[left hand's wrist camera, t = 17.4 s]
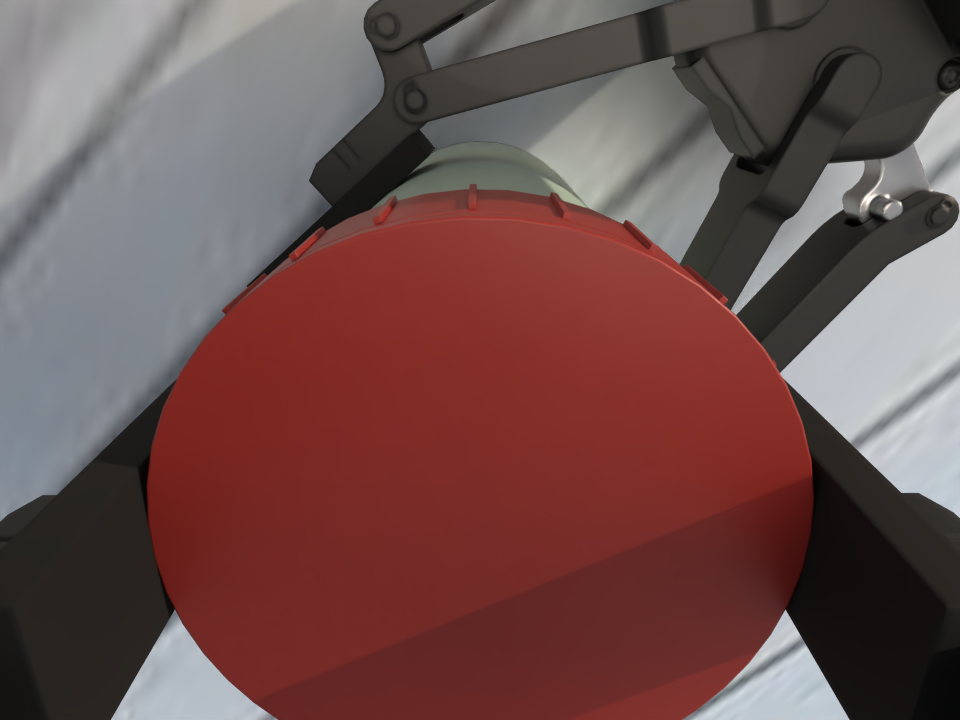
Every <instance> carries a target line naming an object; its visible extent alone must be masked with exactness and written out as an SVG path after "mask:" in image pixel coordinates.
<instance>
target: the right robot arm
mask: <svg viewBox="0 0 960 720" xmlns="http://www.w3.org/2000/svg"><path fill="white" fill-rule="evenodd" d="M494 1H495V0H379V1H377V2H375V3H374V4H373V5H372V6H371V7H370V8H369V9H368V10H367V13H366V15H365V18H364V31H365V34H366V37H367V39H368V40H369V41H370V43H371V44H372V47H373V49H374V52H375V54H376V57H377V60H378V62H379V65H380V67H381V70H382V72H383V76H384V82H385V88H384V93H383V96H382V98H381V101H380V102H379V103H378V105H377V106H376V107H375V108H374V109H373V110H372V111H371V112H370V113H369V114H368V115H367V116H366V117H365V118H364V119H363V120H361V121H360V122H359V123H358V124H357V125H356V126H355V127H354V128H353V129H352V130H351V131H350V132H349V133H348V134H347V135H346V136H345V137H344V138H343V139H342V140H341V141H339V142H338V143H337V144H336V145H335V146H334V147H333V148H332V149H331V150H330V151H329V152H328V153H327V154H326V155H325V156H324V157H323V158H322V159H321V160H320V161H319V162H318V163H316V166H315V168H314V170H313V173H312V175H311V177H310V180H309V182H310V183H311V184H312V185H313V186H314V187H315V188H316V189H317V190H318V191H319V192H320V193H321V195H322V196H323V197H324V198H325V199H326V200H327V201H328V202H329V203H330V204H331V205H332V206H333V207H332V208H330V209H329V210H328V211H327V212H326V213H325V214H324V215H323V216H322V217H321V218H320V219H319V220H317V221H316V222H315V223H314V224H313V225H312V226H311V227H310V228H309V229H308V230H307V231H306V232H305V233H303V234H302V235H301V236H300V237H299V238H298V239H297V240H296V241H295V242H294V243H293V244H292V245H290V246H289V247H288V248H287V249H286V250H285V251H284V252H283V253H282V254H281V255H280V256H279V257H278V258H276V259H275V260H274V261H273V262H272V263H271V264H270V265H269V266H268V267H267V268H266V269H265V270H263V271H262V272H261V273H260V274H259V275H258V276H257V277H256V278H255V279H254V280H253V281H252V282H251V283H249V284H248V285H247V287H249V286H250V285H251V284H252V283H253V282H254V281H256V280H257V279H258V278H259V277H260V276H261V275H262V274H264V273H265V274H266V275H267V276H268V275H269V274H270V273H271V272H272V271H274V270H275V269H276V268H277V267H278V266H279V265H280V264H281V263H282V262H284V261H285V260H286V259H287V258H289V255H290V254H291V253H292V252H293V251H294V250H295V249H296V248H297V247H299V246H300V245H301V244H302V243H303V242H304V241H305V240H307V239H308V238H309V237H310V236H311V235H312V234H313V233H314V232H316V231H317V230H318V229H319V228H321V227H324V228H325V230H326V231H327V230H329V229H331V228H332V227H334V226H336V225H338V224H339V223H341V222H343V221H345V220H346V219H348V218H351V217H353V216H356V215H358V214H361V213H363V212H366V211H368V210H371V209H372V208H373V207H374V206H375V205H376V204H377V203H378V202H379V201H380V200H382V199H383V198H384V197H385V196H386V195H387V194H388V193H389V192H390V191H391V190H393V189H394V188H395V187H396V186H397V185H398V184H399V183H400V182H401V181H402V180H404V179H405V178H406V177H407V176H408V175H409V174H410V173H411V172H412V171H414V170H415V169H416V168H417V167H418V166H419V165H420V164H421V163H422V162H423V161H425V160H426V159H427V158H428V157H429V156H430V154H431V153H432V152H433V150H434V149H435V148H434V146H433V145H432V144H431V143H430V142H429V140H428V139H427V138H426V137H425V136H424V134H423V133H422V132H421V131H420V130H419V129H421V128H422V127H423V126H424V125H425V124H426V123H427V122H429V121H433V120H436V119H440V118H444V117H447V116H451V115H455V114H458V113H462V112H466V111H469V110H473V109H477V108H480V107H484V106H488V105H491V104H495V103H499V102H502V101H506V100H510V99H513V98H517V97H521V96H524V95H528V94H532V93H535V92H539V91H543V90H546V89H550V88H554V87H557V86H561V85H565V84H568V83H572V82H576V81H579V80H583V79H587V78H590V77H594V76H598V75H601V74H605V73H609V72H612V71H616V70H620V69H623V68H627V67H631V66H634V65H638V64H642V63H645V62H649V61H653V60H657V59H662V58H665V57H669V56H673V55H674V59H675V63H676V65H675V66H674V67H673V68H672V69H673V71H674V72H675V74H676V75H677V77H678V78H679V80H680V81H681V82H682V84H683V85H684V87H685V88H686V90H688V91H689V92H690V93H691V94H693V95H694V96H695V97H696V98H698V99H699V100H700V101H701V102H703V103H704V104H705V105H706V106H707V107H708V110H709V113H710V116H711V119H712V122H713V125H714V128H715V131H716V133H717V135H718V136H719V138H720V139H721V140H722V142H723V143H724V145H725V146H726V148H727V149H728V151H729V152H731V153H734V155H733V157H732V159H731V161H730V162H729V164H728V166H727V168H726V170H725V171H724V173H723V175H722V178H721V180H720V185H719V193H718V195H717V197H716V199H715V201H714V203H713V205H712V207H711V208H710V210H709V212H708V214H707V216H706V217H705V219H704V221H703V223H702V225H701V226H700V228H699V230H698V232H697V234H696V236H695V237H694V239H693V241H692V243H691V245H690V246H689V248H688V250H687V252H686V254H685V255H684V257H683V259H682V261H681V263H680V266H682V267H683V268H684V267H685V266H686V265H687V264H688V265H689V266H690V267H691V268H692V269H693V270H695V271H696V272H697V273H698V274H699V275H700V276H702V277H703V278H704V279H705V280H706V281H707V282H709V283H710V284H711V285H712V286H713V287H714V288H715V289H717V290H718V291H719V292H720V293H721V294H722V295H724V296H725V297H726V298H727V299H728V302H726V303H725V304H724V305H725V306H726V307H727V308H728V309H729V310H731V308H732V307H733V305H734V303H735V302H736V300H737V298H738V297H739V295H740V293H741V292H742V290H743V288H744V287H745V285H746V283H747V282H748V280H749V278H750V277H751V275H752V273H753V271H754V270H755V268H756V266H757V265H758V263H759V261H760V260H761V258H762V256H763V255H764V253H765V251H766V250H767V248H768V246H769V245H770V243H771V241H772V240H773V238H774V236H775V235H776V233H777V231H778V229H779V228H780V226H781V225H782V223H783V222H784V221H785V220H787V219H789V218H791V217H793V216H794V215H795V214H796V213H797V212H798V211H799V209H800V208H801V207H802V205H803V203H804V202H805V200H806V198H807V197H808V195H809V193H810V192H811V190H812V188H813V187H814V185H815V183H816V182H817V180H818V178H819V177H820V175H821V173H822V172H823V170H824V168H825V167H826V165H827V164H828V163H840V162H853V161H864V162H865V169H864V173H863V176H862V177H861V179H860V180H859V182H858V183H857V184H856V185H855V186H854V187H853V188H851V189H850V190H848V191H846V192H845V194H844V195H843V198H842V202H843V204H844V206H843V208H844V209H843V210H842V211H840V212H839V213H837V214H836V215H834V216H833V217H832V218H830V219H829V220H828V221H827V222H825V223H824V224H823V225H822V226H821V227H820V228H818V229H817V230H816V231H815V232H814V233H813V234H812V235H811V236H810V237H809V238H808V239H807V240H806V242H805V243H804V244H803V245H802V246H801V247H800V248H799V249H798V250H797V251H796V252H795V253H794V254H793V255H792V256H791V257H790V259H789V260H788V261H787V262H786V263H785V264H784V265H783V266H782V267H781V268H780V269H779V270H778V271H777V272H776V273H775V274H774V276H773V277H772V278H771V279H770V280H769V281H768V282H767V283H766V284H765V285H764V286H763V287H762V288H761V289H760V290H759V291H758V293H757V294H756V295H755V296H754V297H753V298H752V299H751V300H750V301H749V302H748V303H747V304H746V305H745V306H744V307H743V308H742V310H741V311H740V312H739V313H738V314H737V315H736V316H737V317H738V318H739V319H740V321H741V322H742V323H743V324H744V325H745V326H746V328H747V329H748V330H749V331H750V332H751V333H752V335H753V336H754V337H755V338H756V339H757V340H758V342H759V343H760V344H761V345H762V346H763V347H764V349H765V350H766V352H767V353H768V355H769V356H770V357H771V358H772V359H773V360H774V361H775V363H776V368H777V370H778V371H779V373H780V372H781V371H782V370H783V369H784V368H785V367H786V366H787V365H788V364H789V363H790V362H791V361H792V360H793V359H794V358H795V357H796V356H797V355H798V354H799V353H800V352H801V351H802V350H803V349H804V348H805V347H806V346H807V345H808V344H809V343H810V342H811V341H812V340H813V339H814V338H815V337H816V336H817V335H818V334H819V333H820V332H821V331H822V330H823V329H824V328H825V327H826V326H827V325H828V324H829V323H830V322H831V321H832V320H833V319H834V318H835V317H836V316H837V315H838V314H839V313H840V312H841V311H842V310H843V309H844V308H845V307H846V306H847V305H848V304H849V303H850V302H851V301H852V300H853V299H854V298H855V297H856V296H857V295H858V294H859V293H860V292H861V291H862V290H863V289H864V288H865V287H866V286H867V285H868V284H869V283H870V282H871V281H872V280H873V279H874V278H875V277H876V276H877V275H878V274H879V273H880V272H881V271H882V270H883V269H884V268H885V267H886V266H887V265H888V264H890V263H892V262H893V261H895V260H897V259H899V258H901V257H902V256H904V255H906V254H908V253H910V252H911V251H913V250H915V249H917V248H919V247H920V246H922V245H924V244H926V243H928V242H929V241H931V240H933V239H935V238H937V237H938V236H940V235H942V234H944V233H945V232H947V231H948V230H949V229H950V228H952V226H953V225H954V224H955V222H956V221H957V218H958V214H959V206H958V203H957V201H956V200H955V199H954V198H953V197H951V196H949V195H947V194H943V193H939V192H935V191H933V190H932V189H931V187H930V185H929V182H928V179H927V177H926V174H925V172H924V169H923V167H922V164H921V162H920V159H919V157H918V154H917V151H916V149H915V146H914V144H913V143H914V142H915V141H916V140H917V139H918V137H919V136H920V135H921V133H922V132H923V130H924V128H925V127H926V125H927V123H928V121H929V119H930V118H931V116H932V115H933V113H934V112H935V111H936V109H937V108H938V107H939V106H940V105H941V103H942V102H943V101H944V100H945V99H946V98H947V97H948V96H950V95H951V94H952V93H954V92H955V91H956V90H958V89H960V0H679V1H676V2H672V3H669V4H665V5H662V6H658V7H655V8H652V9H648V10H645V11H642V12H639V13H636V14H632V15H628V16H625V17H621V18H618V19H614V20H611V21H607V22H603V23H600V24H596V25H593V26H589V27H586V28H582V29H578V30H575V31H571V32H568V33H564V34H561V35H557V36H553V37H550V38H546V39H543V40H539V41H536V42H532V43H528V44H525V45H521V46H518V47H514V48H511V49H507V50H503V51H500V52H496V53H493V54H489V55H486V56H482V57H478V58H475V59H471V60H468V61H464V62H461V63H457V64H453V65H450V66H446V67H443V68H439V69H436V70H432V68H431V66H430V63H429V60H428V57H427V55H426V52H425V49H424V46H423V43H425V42H427V41H428V40H430V39H432V38H433V37H435V36H437V35H438V34H440V33H442V32H443V31H445V30H447V29H448V28H450V27H452V26H453V25H455V24H457V23H458V22H460V21H462V20H463V19H465V18H467V17H468V16H470V15H472V14H473V13H475V12H477V11H479V10H480V9H482V8H484V7H485V6H487V5H489V4H490V3H492V2H494Z"/></svg>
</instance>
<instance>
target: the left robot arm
mask: <svg viewBox="0 0 960 720" xmlns="http://www.w3.org/2000/svg"><path fill="white" fill-rule="evenodd" d="M176 380H177V379H176ZM176 380H175V381H174V382H173V383H172V384H171V385H170V386H169V387H168V388H167V389H166V390H165V391H164V392H163V393H162V394H161V395H160V396H159V397H158V398H157V399H156V400H155V401H154V402H152V403H151V404H150V405H149V406H148V407H147V408H146V409H145V410H144V411H143V412H142V413H141V414H140V415H139V416H138V417H137V418H136V419H135V420H134V421H133V422H132V423H131V424H130V425H129V426H128V427H127V428H126V429H125V430H124V431H123V432H122V433H121V434H119V435H118V436H117V437H116V438H115V439H114V440H113V441H112V442H111V443H110V444H109V445H108V446H107V447H106V448H105V449H104V450H103V451H102V452H101V453H100V454H99V455H98V456H97V457H96V458H95V459H94V460H93V461H92V462H91V463H90V464H89V465H88V466H86V467H85V468H84V469H83V470H82V471H81V472H80V473H79V474H78V475H77V476H76V477H75V478H74V479H73V480H72V481H71V482H70V483H69V484H68V485H67V486H66V487H65V488H64V489H63V490H62V491H61V492H60V493H59V494H58V495H42V496H40V497H39V498H37V499H35V500H33V501H32V502H30V503H28V504H26V505H24V506H23V507H21V508H19V509H17V510H16V511H14V512H12V513H10V514H8V515H7V516H6V517H5V518H4V519H3V520H2V521H1V522H0V720H111V718H112V717H113V715H114V713H115V711H116V710H117V708H118V706H119V705H120V703H121V701H122V699H123V698H124V696H125V694H126V693H127V691H128V689H129V687H130V686H131V684H132V682H133V681H134V679H135V677H136V675H137V674H138V672H139V670H140V669H141V667H142V665H143V663H144V662H145V660H146V658H147V656H148V655H149V653H150V651H151V650H152V648H153V646H154V644H155V643H156V641H157V639H158V638H159V636H160V634H161V632H162V631H163V629H164V627H165V626H166V624H167V622H168V620H169V619H170V617H171V615H172V614H173V612H174V610H175V608H174V606H173V604H172V602H171V600H170V598H169V596H168V595H167V593H166V590H165V587H164V584H163V581H162V578H161V576H160V573H159V570H158V567H157V563H156V559H155V554H154V550H153V545H152V540H151V535H150V530H149V526H148V515H147V478H148V470H149V462H150V454H151V447H152V443H153V440H154V436H155V433H156V430H157V426H158V423H159V420H160V416H161V413H162V409H163V407H164V405H165V403H166V401H167V399H168V397H169V395H170V393H171V391H172V388H173V386H174V384H175V382H176ZM784 381H785V380H784ZM785 383H786V384H787V386H788V389H789V391H790V394H791V396H792V398H793V401H794V403H795V406H796V408H797V411H798V413H799V415H800V418H801V420H802V423H803V427H804V431H805V436H806V440H807V444H808V448H809V453H810V457H811V464H812V477H813V491H814V505H813V516H812V528H811V534H810V539H809V543H808V548H807V552H806V557H805V561H804V565H803V570H802V572H801V575H800V577H799V580H798V582H797V585H796V587H795V590H794V592H793V595H792V597H791V599H790V602H789V604H788V606H787V608H786V611H787V613H788V614H789V616H790V618H791V620H792V621H793V623H794V625H795V626H796V628H797V630H798V632H799V633H800V635H801V637H802V639H803V640H804V642H805V644H806V645H807V647H808V649H809V651H810V652H811V654H812V656H813V657H814V659H815V661H816V663H817V664H818V666H819V668H820V669H821V671H822V673H823V675H824V676H825V678H826V680H827V682H828V683H829V685H830V687H831V688H832V690H833V692H834V694H835V695H836V697H837V699H838V700H839V702H840V704H841V706H842V707H843V709H844V711H845V712H846V714H847V716H848V718H849V719H850V720H960V518H959V517H958V516H957V515H956V514H954V513H953V512H952V511H950V510H948V509H946V508H944V507H943V506H941V505H939V504H937V503H935V502H934V501H932V500H930V499H928V498H926V497H925V496H923V495H921V494H919V493H901V492H900V491H899V490H898V489H897V488H896V487H895V486H894V485H893V484H892V483H891V482H889V481H888V480H887V479H886V478H885V477H884V476H883V475H882V474H881V473H880V472H879V471H878V470H877V469H876V468H875V467H874V466H873V465H872V464H871V463H870V462H869V461H868V460H867V459H866V458H865V457H864V456H863V455H862V454H861V453H860V452H859V451H858V450H856V449H855V448H854V447H853V446H852V445H851V444H850V443H849V442H848V441H847V440H846V439H845V438H844V437H843V436H842V435H841V434H840V433H839V432H838V431H837V430H836V429H835V428H834V427H833V426H832V425H831V424H830V423H829V422H828V421H827V420H826V419H825V418H823V417H822V416H821V415H820V414H819V413H818V412H817V411H816V410H815V409H814V408H813V407H812V406H811V405H810V404H809V403H808V402H807V401H806V400H805V399H804V398H803V397H802V396H801V395H800V394H799V393H798V392H797V391H796V390H795V389H794V388H793V387H791V386H790V385H789V384H788V383H787V382H786V381H785Z"/></svg>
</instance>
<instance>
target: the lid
mask: <svg viewBox="0 0 960 720" xmlns="http://www.w3.org/2000/svg"><path fill="white" fill-rule="evenodd" d="M726 302H728V299H727V298H726V297H725V296H724V295H722V294H721V293H720V292H719V291H718V290H717V289H715V288H714V287H713V286H712V285H711V284H710V283H709V282H707V281H706V280H705V279H704V278H703V277H702V276H700V275H699V274H698V273H697V272H696V271H695V270H693V269H692V268H691V267H690V266H689V265H688V264H687V265H686V266H685V267H684V268H683V267H682V266H680V265H679V264H678V263H677V262H676V261H675V260H673V259H672V258H671V257H670V256H669V255H668V254H666V253H665V252H664V251H663V250H662V249H661V248H660V247H658V246H657V245H655V244H654V243H653V242H652V241H651V240H650V239H648V238H647V237H646V236H645V235H644V234H643V233H642V232H641V231H640V230H639V229H637V228H636V227H635V226H634V225H633V224H632V223H631V222H629V221H627V220H625V222H624V223H623V224H622V223H619V222H617V221H615V220H613V219H611V218H609V217H606V216H604V215H602V214H600V213H598V212H595V211H593V210H591V209H589V208H586V207H582V206H579V205H576V204H572V203H569V202H566V201H562V199H561V198H560V197H559V195H558V194H557V193H553V192H551V194H550V197H549V196H543V195H536V194H530V193H524V192H517V191H511V190H485V189H477V184H470V186H469V189H463V190H454V191H445V192H436V193H427V194H422V195H418V196H414V197H410V198H406V199H402V200H398V201H397V197H396V196H392V197H389V199H388V200H387V201H386V202H385V204H383V205H381V206H378V207H376V208H373V209H371V210H368V211H366V212H363V213H361V214H358V215H356V216H353V217H351V218H348V219H346V220H345V221H343V222H341V223H339V224H338V225H336V226H334V227H332V228H331V229H329V230H327V231H326V230H325V228H324V227H321V228H319V229H318V230H317V231H316V232H314V233H313V234H312V235H311V236H310V237H309V238H308V239H307V240H305V241H304V242H303V243H302V244H301V245H300V246H299V247H297V248H296V249H295V250H294V251H293V252H292V253H291V254H290V255H289V258H287V259H286V260H285V261H284V262H282V263H281V264H280V265H279V266H278V267H277V268H276V269H275V270H274V271H272V272H271V273H270V274H269V275H268V276H267V275H266V274H265V273H264V274H262V275H261V276H260V277H259V278H258V279H257V280H256V281H254V282H253V283H252V284H251V285H250V286H249V287H248V288H246V289H245V290H244V291H243V292H242V293H241V294H239V295H238V296H237V297H236V298H235V299H234V300H233V301H231V302H230V303H229V304H228V305H227V306H226V307H225V308H224V309H223V310H222V311H223V312H224V313H225V314H226V315H225V316H224V317H223V318H222V319H221V320H220V321H219V322H218V324H217V325H216V326H215V327H214V328H213V329H212V330H211V331H210V332H209V333H208V334H207V335H206V336H205V337H204V339H203V340H202V342H201V343H200V345H199V346H198V347H197V349H196V350H195V352H194V353H193V355H192V356H191V357H190V359H189V360H188V362H187V363H186V365H185V366H184V368H183V369H182V370H181V372H180V374H179V376H178V378H177V380H176V382H175V384H174V386H173V388H172V391H171V393H170V395H169V397H168V399H167V401H166V403H165V405H164V407H163V409H162V413H161V416H160V420H159V423H158V426H157V430H156V433H155V436H154V440H153V443H152V447H151V454H150V462H149V470H148V478H147V515H148V526H149V530H150V535H151V540H152V545H153V550H154V554H155V559H156V563H157V567H158V570H159V573H160V576H161V578H162V581H163V584H164V587H165V590H166V593H167V595H168V596H169V598H170V600H171V602H172V604H173V606H174V608H175V610H176V612H177V614H178V616H179V618H180V620H181V622H182V624H183V625H184V627H185V628H186V629H187V631H188V632H189V634H190V635H191V636H192V638H193V639H194V641H195V642H196V644H197V645H198V646H199V648H200V649H201V651H202V652H203V654H204V655H205V656H206V657H207V658H208V659H209V660H210V661H211V662H212V663H213V665H214V666H215V667H216V668H217V669H218V670H219V671H220V672H221V673H222V674H223V676H224V677H225V678H226V679H227V680H228V681H229V682H231V683H232V684H233V685H234V686H235V687H236V688H237V689H239V690H240V691H241V692H242V693H243V694H244V695H246V696H247V697H248V698H249V699H250V700H251V701H252V702H254V703H255V704H256V705H258V706H259V707H261V708H262V709H264V710H265V711H267V712H268V713H269V714H271V715H272V716H274V717H275V718H277V719H278V720H682V719H684V718H685V717H687V716H688V715H690V714H692V713H693V712H695V711H696V710H697V709H699V708H700V707H701V706H702V705H704V704H705V703H706V702H707V701H709V700H710V699H711V698H712V697H714V696H715V695H716V694H717V693H719V692H720V691H721V690H722V689H724V688H725V687H726V686H727V685H728V684H729V683H730V682H731V681H732V680H733V679H734V678H735V677H736V676H737V675H738V674H739V673H740V672H741V671H742V670H743V669H744V668H745V667H746V666H747V665H748V664H749V662H750V661H751V660H752V658H753V657H754V656H755V655H756V653H757V652H758V651H759V649H760V648H761V647H762V646H763V644H764V643H765V642H766V640H767V639H768V638H769V636H770V635H771V634H772V632H773V630H774V628H775V627H776V625H777V623H778V621H779V620H780V618H781V616H782V615H783V613H784V611H785V609H786V608H787V606H788V604H789V602H790V599H791V597H792V595H793V592H794V590H795V587H796V585H797V582H798V580H799V577H800V575H801V572H802V570H803V565H804V561H805V557H806V552H807V548H808V543H809V539H810V534H811V528H812V516H813V505H814V491H813V477H812V464H811V457H810V453H809V448H808V444H807V440H806V436H805V431H804V427H803V423H802V420H801V418H800V415H799V413H798V411H797V408H796V406H795V403H794V401H793V398H792V396H791V394H790V391H789V389H788V386H787V384H786V383H785V381H784V379H783V378H782V376H781V375H780V373H779V371H778V370H777V368H776V363H775V361H774V360H773V359H772V358H771V357H770V356H769V355H768V353H767V352H766V350H765V349H764V347H763V346H762V345H761V344H760V343H759V342H758V340H757V339H756V338H755V337H754V336H753V335H752V333H751V332H750V331H749V330H748V329H747V328H746V326H745V325H744V324H743V323H742V322H741V321H740V319H739V318H738V317H737V316H736V315H735V314H734V313H733V312H732V311H731V310H729V309H728V308H727V307H726V306H725V305H724V304H725V303H726Z"/></svg>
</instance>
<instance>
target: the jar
mask: <svg viewBox="0 0 960 720" xmlns="http://www.w3.org/2000/svg"><path fill="white" fill-rule="evenodd" d="M470 184H477V189H485V190H511V191H517V192H524V193H530V194H536V195H543V196H549V197H550V194H551V192H553V193H557V194H558V195H559V197H560V198H561V199H562V201H566V202H569V203H572V204H576V205H579V206H582V207H586V208H588V207H587V206H586V205H585V204H584V202H583V201H582V200H581V199H580V198H579V197H578V196H577V194H576V193H575V192H574V191H573V190H572V189H571V188H570V187H569V185H568V184H567V183H566V182H565V181H564V180H563V179H562V178H561V177H560V176H559V175H558V174H557V173H556V172H555V171H554V170H553V169H552V168H551V167H550V166H548V165H547V164H546V163H544V162H543V161H542V160H540V159H539V158H537V157H535V156H533V155H532V154H530V153H528V152H526V151H523V150H521V149H518V148H516V147H512V146H508V145H504V144H501V143H492V142H467V143H461V144H455V145H452V146H448V147H445V148H442V149H439V150H437V151H435V152H433V153H431V154H430V156H429V157H428V158H427V159H426V160H425V161H423V162H422V163H421V164H420V165H419V166H418V167H417V168H416V169H415V170H414V171H412V172H411V173H410V174H409V175H408V176H407V177H406V178H405V179H404V180H402V181H401V182H400V183H399V184H398V185H397V186H396V187H395V188H394V189H393V190H391V191H390V192H389V193H388V194H387V195H386V196H385V197H384V198H383V199H382V200H380V201H379V202H378V203H377V204H376V205H375V206H374V207H373V208H376V207H378V206H381V205H383V204H385V202H386V201H387V200H388V199H389V197H392V196H396V197H397V201H398V200H402V199H406V198H410V197H414V196H418V195H422V194H427V193H436V192H445V191H454V190H463V189H469V186H470ZM373 208H372V209H373Z"/></svg>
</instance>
